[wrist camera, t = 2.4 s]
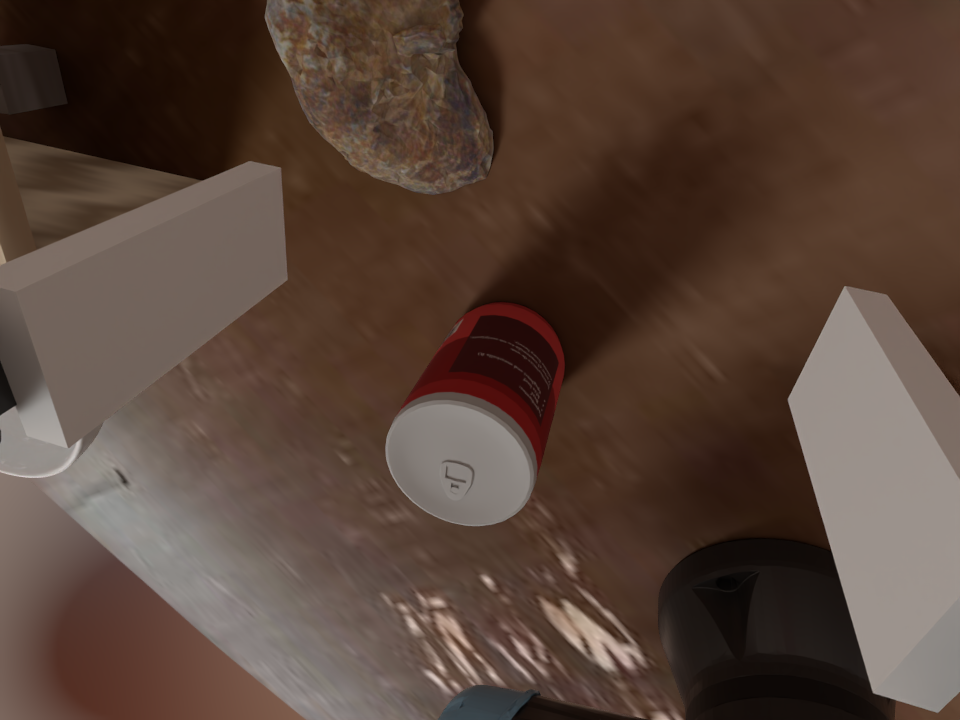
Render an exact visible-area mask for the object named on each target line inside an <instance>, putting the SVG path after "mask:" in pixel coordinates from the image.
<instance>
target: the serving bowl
mask: <svg viewBox="0 0 960 720" xmlns="http://www.w3.org/2000/svg"><path fill="white" fill-rule="evenodd" d="M102 424H103V422H102V423H101V424H100V425H98V426H97V427H96V428H94V429H93V430H92V431H91V432H89V433H88V434H87V435H85V436H84V437H83V438H81V439H80V440H79V441H78V442H76V443H75V444H74V445H72V446H71V447H70V448H64V447H61V446H58V445H55V444H51V443H48V442H45V441H41V440H38V439H35V438H32V437H28V436H27V435H26V433H25V430H24V427H23V425H22V422H21V420H20V417H19V414H18V412H17V409H16V406H14V407H13V408H11V409H10V410H8V411H6V412H5V413H3V414H2V415H0V430H1V443H0V472H2V473H5V474H9V475H13V476H20V477H27V478H41V477H47V476H52V475H55V474H58V473H60V472H62V471H64V470H65V469H67V468H68V467H70V466H71V465H72V464H73V463H74V462H75V461H76V460H77V459H78V458H79V457H80V456H81V455H82V454H83V453H84V452H85V450H86V449H87V448H88V447H89V446H90V444H91V443H92V442H93V440H94V439H95V437H96V436H97V434H98V432H99V431H100V429H101V427H102Z"/></svg>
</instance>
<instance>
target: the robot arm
mask: <svg viewBox="0 0 960 720" xmlns="http://www.w3.org/2000/svg"><path fill="white" fill-rule="evenodd" d="M285 281H287V263H286V247H285V230H284V213H283V196H282V180H281V168H280V167H275V166H270V165H265V164H260V163H256V162H251V161H249V162H247V163H244V164H242V165H239V166H237V167H235V168H232V169H230V170H227V171H225V172H223V173H220V174H218V175H215V176H213V177H211V178H208V179H206V180H203V181H201V182H199V183H196V184H194V185H191V186H189V187H187V188H184V189H182V190H179V191H177V192H175V193H172V194H170V195H167V196H165V197H163V198H160V199H158V200H155V201H153V202H151V203H148V204H146V205H143V206H141V207H139V208H136V209H134V210H131V211H129V212H127V213H124V214H122V215H119V216H117V217H115V218H112V219H110V220H107V221H105V222H103V223H100V224H98V225H95V226H93V227H91V228H88V229H86V230H83V231H81V232H79V233H76V234H74V235H71V236H69V237H67V238H64V239H62V240H60V241H57V242H55V243H52V244H50V245H48V246H45V247H43V248H40V249H38V250H36V251H33V252H31V253H28V254H26V255H24V256H21V257H19V258H16V259H14V260H12V261H9V262H7V263H4V264H2V265H0V415H2V414H3V413H5V412H6V411H8V410H10V409H11V408H13V407H14V406H16V409H17V412H18V414H19V417H20V420H21V422H22V425H23V427H24V430H25V433H26V435H27V436H28V437H32V438H35V439H38V440H41V441H45V442H48V443H51V444H55V445H58V446H61V447H64V448H70V447H71V446H72V445H74V444H75V443H76V442H78V441H79V440H80V439H81V438H83V437H84V436H85V435H87V434H88V433H89V432H91V431H92V430H93V429H94V428H96V427H97V426H98V425H100V424H101V423H102V422H104V421H105V420H106V419H107V418H109V417H110V416H111V415H113V414H114V413H115V412H116V411H118V410H119V409H120V408H122V407H123V406H124V405H126V404H127V403H128V402H129V401H131V400H132V399H133V398H135V397H136V396H137V395H139V394H140V393H141V392H142V391H144V390H145V389H146V388H148V387H149V386H150V385H152V384H153V383H154V382H155V381H157V380H158V379H159V378H161V377H162V376H163V375H165V374H166V373H167V372H168V371H170V370H171V369H172V368H174V367H175V366H176V365H177V364H179V363H180V362H181V361H183V360H184V359H185V358H187V357H188V356H189V355H190V354H192V353H193V352H194V351H196V350H197V349H198V348H200V347H201V346H202V345H203V344H205V343H206V342H207V341H209V340H210V339H211V338H213V337H214V336H215V335H216V334H218V333H219V332H220V331H222V330H223V329H224V328H226V327H227V326H228V325H229V324H231V323H232V322H233V321H235V320H236V319H237V318H239V317H240V316H241V315H242V314H244V313H245V312H246V311H248V310H249V309H250V308H251V307H253V306H254V305H255V304H257V303H258V302H259V301H261V300H262V299H263V298H264V297H266V296H267V295H268V294H270V293H271V292H272V291H274V290H275V289H276V288H277V287H279V286H280V285H281V284H283V283H284V282H285ZM788 403H789V406H790V410H791V413H792V416H793V420H794V423H795V427H796V430H797V434H798V437H799V440H800V444H801V447H802V451H803V454H804V458H805V461H806V465H807V468H808V471H809V475H810V478H811V482H812V485H813V489H814V492H815V495H816V499H817V502H818V506H819V509H820V513H821V516H822V519H823V523H824V526H825V530H826V533H827V537H828V540H829V544H830V547H831V550H832V552H829V551H827V550H824V549H821V548H818V547H815V546H811V545H807V544H803V543H798V542H793V541H786V540H776V539H747V540H738V541H732V542H726V543H722V544H718V545H714V546H711V547H708V548H706V549H703V550H701V551H698V552H696V553H694V554H692V555H691V556H689V557H687V558H686V559H684V560H683V561H681V562H680V563H679V564H678V565H677V566H675V567H674V568H673V569H672V570H671V572H670V573H669V574H668V575H667V577H666V578H665V580H664V582H663V584H662V586H661V589H660V593H659V601H658V627H659V634H660V639H661V642H662V645H663V648H664V650H665V653H666V656H667V659H668V662H669V665H670V667H671V670H672V673H673V676H674V679H675V681H676V684H677V687H678V690H679V693H680V695H681V698H682V701H683V704H684V707H685V714H686V720H895V704H896V700H898V701H901V702H904V703H907V704H911V705H914V706H917V707H921V708H924V709H927V710H930V711H934V712H937V713H938V712H939V711H940V710H941V709H942V708H943V707H944V706H945V705H946V704H947V703H948V702H950V701H951V700H952V699H953V698H954V697H955V696H956V695H957V694H958V693H959V692H960V397H959V395H958V394H957V392H956V391H955V389H954V388H953V387H952V385H951V384H950V382H949V381H948V380H947V378H946V377H945V375H944V374H943V373H942V371H941V370H940V368H939V367H938V366H937V364H936V363H935V361H934V360H933V359H932V357H931V356H930V354H929V353H928V352H927V350H926V349H925V347H924V346H923V345H922V343H921V342H920V340H919V339H918V338H917V336H916V335H915V333H914V332H913V331H912V329H911V328H910V326H909V325H908V324H907V322H906V321H905V319H904V318H903V317H902V315H901V314H900V312H899V311H898V310H897V308H896V307H895V305H894V304H893V303H892V301H891V300H890V298H889V297H888V296H887V295H886V294H881V293H876V292H871V291H867V290H862V289H857V288H852V287H847V286H844V288H843V290H842V292H841V294H840V296H839V298H838V300H837V302H836V304H835V306H834V308H833V310H832V312H831V314H830V316H829V318H828V320H827V322H826V324H825V326H824V328H823V330H822V332H821V334H820V336H819V338H818V340H817V342H816V344H815V346H814V348H813V350H812V352H811V354H810V356H809V358H808V360H807V362H806V364H805V366H804V368H803V370H802V372H801V374H800V376H799V378H798V380H797V382H796V384H795V386H794V388H793V390H792V392H791V394H790V396H789V398H788ZM0 443H1V430H0ZM438 720H647V719H642V718H638V717H633V716H629V715H624V714H620V713H615V712H611V711H606V710H601V709H597V708H592V707H588V706H583V705H579V704H574V703H570V702H565V701H561V700H556V699H552V698H547V697H543V696H541V694H540V693H539V691H537V690H531V689H530V690H528V691H526V692H524V691H518V690H512V689H506V688H500V687H494V686H488V685H475V686H471V687H469V688H467V689H465V690H463V691H462V692H460V693H459V694H458V695H457V696H455V697H454V698H453V699H452V700H451V702H450V703H449V704H448V705H447V707H446V708H445V709H444V711H443V713H442V714H441V716H440V717H439V718H438Z"/></svg>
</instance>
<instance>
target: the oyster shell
mask: <svg viewBox="0 0 960 720" xmlns="http://www.w3.org/2000/svg"><path fill="white" fill-rule="evenodd" d="M463 16H464V14H463V12H462V9H461V7H460V3H459V0H267V6H266V12H265V20H266V23H267V26H268V29H269V31H270V34H271V36H272V39H273V42H274V45H275V47H276V50H277V52H278V54H279V56H280V58H281V60H282V62H283V63H284V65H285V66H286V68H287V71H288V73H289V74H290V76H291V80H292V83H293V87H294V90H295V93H296V96H297V97H298V100H299V102H300V105H301V107H302V109H303V111H304V113H305V115H306V116H307V119H308V121H309V123H310V124H311V125H312V126H313V127H314V128H315V129H316V130H317V131H318V132H319V133H320V135H321V136H322V137H323V138H324V139H325V140H326V141H328V142H329V143H331V144H332V146H334V147H335V148H336V149H337V150H338V151H339V152H340V153H341V154H342V155H343V156H344V157H345V160H348V162H349V163H350V165H351V166H353V167H354V168H356V169H358V170H359V171H361V172H366V173H368V174H370V175H371V176H372V177H374V178H376V179H380V180H383V181H386V182H389V183H393V184H397V185H400V186H402V187H404V188H406V189H408V190H411V191H414V192H417V193H424V194H433V195H434V194H440V193H444V192H453V191H454V190H456V189H458V188H460V187H462V186H465V185H467V184H471V183H474V182H477V181H481V180H484V179H485V178H486V177H487V174H488V172H489V169H490V166H491V160H492V155H493V150H494V145H493V131H492V130H491V129H490V127H489V123H488V120H487V115H486V112H485V111H484V109H483V107H482V106H481V104H480V102H479V99H478V97H477V95H476V93H475V91H474V90H473V87H472V84H471V81H470V80H469V78H468V77H467V76H466V74H465V73H464V71H463V70H462V68H461V66H460V65H459V61H458V57H457V48H456V42H457V41H458V40H459V32H460V31H461V30H462V29H463V25H462V19H463Z"/></svg>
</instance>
